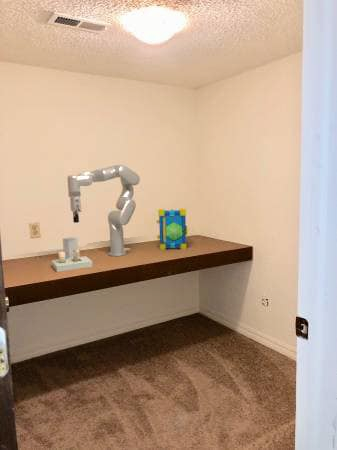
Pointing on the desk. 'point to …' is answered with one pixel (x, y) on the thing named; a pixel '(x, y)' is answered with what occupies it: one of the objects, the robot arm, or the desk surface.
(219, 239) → the desk surface
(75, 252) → the peg
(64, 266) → the board
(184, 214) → the decorative book
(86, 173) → the robot arm
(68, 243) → the skincare box
